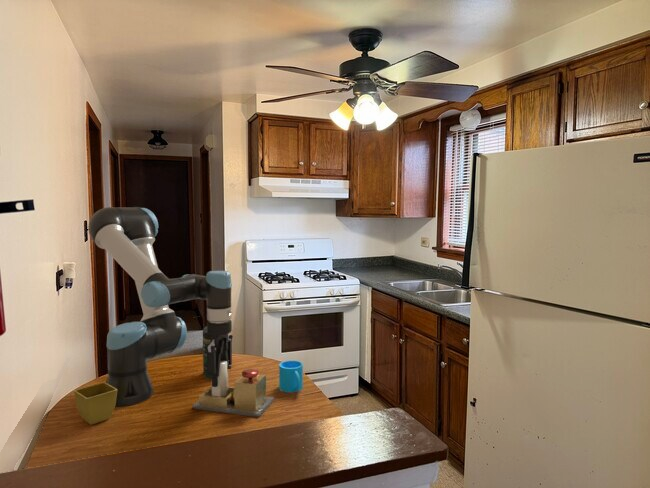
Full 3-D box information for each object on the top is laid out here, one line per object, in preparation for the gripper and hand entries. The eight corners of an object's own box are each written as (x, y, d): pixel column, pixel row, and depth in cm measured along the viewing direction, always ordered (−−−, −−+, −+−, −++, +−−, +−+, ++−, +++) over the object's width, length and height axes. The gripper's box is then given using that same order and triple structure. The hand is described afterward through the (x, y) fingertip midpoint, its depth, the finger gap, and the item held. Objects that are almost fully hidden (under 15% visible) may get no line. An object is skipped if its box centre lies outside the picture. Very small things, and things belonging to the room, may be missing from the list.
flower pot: (105, 409, 134) (104, 381, 133) (119, 418, 128) (118, 388, 128) (74, 420, 127) (73, 390, 126) (87, 430, 122) (86, 398, 121)
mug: (276, 385, 154) (276, 362, 154) (297, 381, 158) (297, 359, 157) (287, 398, 143) (287, 374, 143) (310, 394, 147) (310, 370, 146)
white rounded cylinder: (210, 395, 138) (210, 364, 137) (217, 389, 142) (217, 359, 142) (223, 396, 137) (223, 365, 136) (229, 391, 141) (229, 361, 140)
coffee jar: (201, 372, 165) (201, 324, 164) (222, 369, 168) (222, 322, 167) (205, 381, 156) (204, 330, 155) (227, 378, 160) (227, 328, 158)
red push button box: (193, 408, 136) (192, 373, 135) (212, 392, 147) (212, 360, 146) (259, 417, 130) (259, 381, 129) (274, 400, 142) (274, 367, 141)
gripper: (216, 328, 128) (217, 405, 130) (242, 314, 145) (242, 383, 147) (193, 326, 130) (195, 402, 132) (221, 313, 147) (222, 381, 149)
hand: (220, 392), depth 140 cm, fingers closed on white rounded cylinder, 4 cm apart
